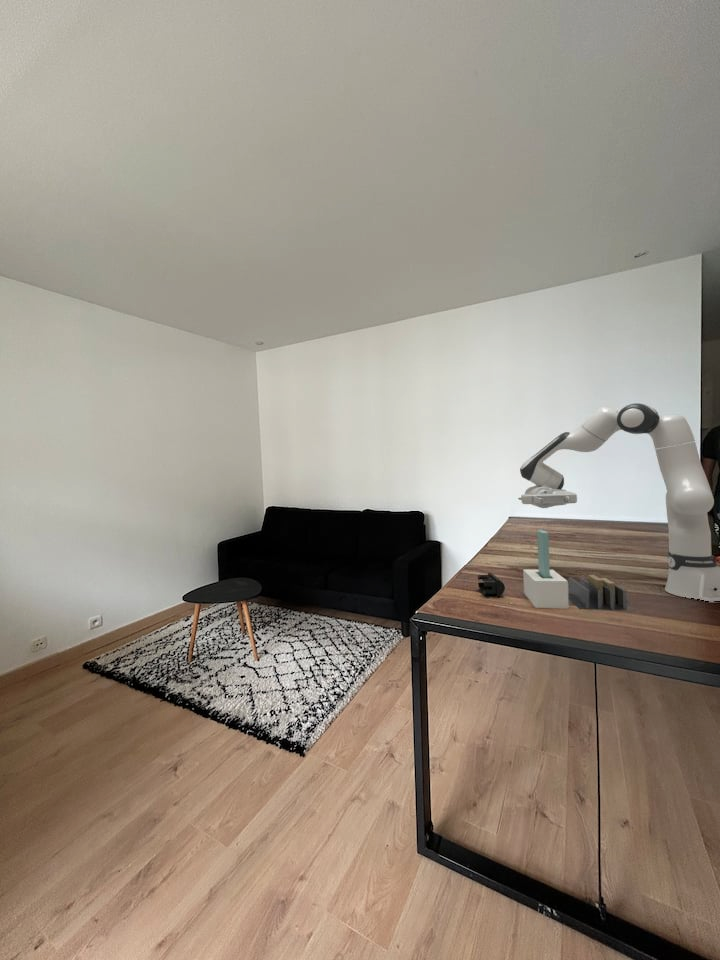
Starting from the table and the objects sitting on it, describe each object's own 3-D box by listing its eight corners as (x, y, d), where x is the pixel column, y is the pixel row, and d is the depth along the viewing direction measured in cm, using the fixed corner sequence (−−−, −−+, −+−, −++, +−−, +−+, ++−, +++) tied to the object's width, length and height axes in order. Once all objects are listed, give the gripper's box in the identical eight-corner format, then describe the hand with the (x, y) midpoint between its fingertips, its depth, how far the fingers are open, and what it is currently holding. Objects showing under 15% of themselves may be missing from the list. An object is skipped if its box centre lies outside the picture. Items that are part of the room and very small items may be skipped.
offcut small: (606, 598, 124) (605, 578, 124) (615, 604, 119) (614, 583, 118) (600, 598, 125) (599, 578, 125) (609, 604, 119) (608, 583, 119)
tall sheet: (545, 597, 128) (542, 530, 128) (550, 604, 122) (548, 532, 122) (539, 597, 128) (537, 530, 128) (545, 604, 122) (542, 533, 122)
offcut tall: (594, 598, 125) (594, 575, 125) (603, 604, 119) (602, 580, 119) (589, 598, 125) (588, 575, 125) (597, 604, 120) (596, 580, 119)
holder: (553, 597, 131) (552, 569, 131) (568, 611, 117) (567, 581, 117) (524, 596, 133) (523, 569, 133) (535, 611, 119) (534, 580, 119)
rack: (611, 597, 128) (610, 577, 128) (635, 614, 114) (634, 591, 113) (562, 596, 131) (561, 576, 131) (579, 612, 116) (578, 590, 116)
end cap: (505, 598, 133) (504, 579, 133) (485, 598, 133) (485, 580, 133) (496, 589, 143) (495, 572, 143) (478, 589, 143) (477, 572, 143)
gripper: (516, 490, 156) (525, 492, 142) (568, 489, 152) (582, 491, 139) (517, 505, 156) (526, 509, 143) (569, 504, 152) (583, 507, 139)
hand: (554, 500), depth 141 cm, fingers open, 8 cm apart
